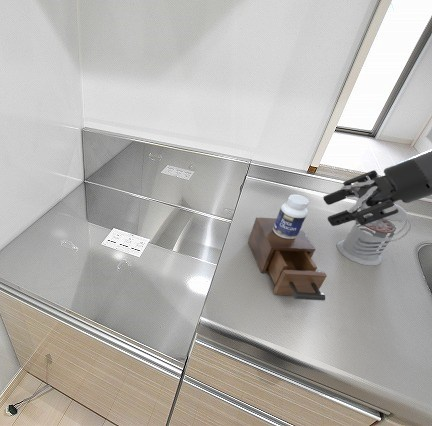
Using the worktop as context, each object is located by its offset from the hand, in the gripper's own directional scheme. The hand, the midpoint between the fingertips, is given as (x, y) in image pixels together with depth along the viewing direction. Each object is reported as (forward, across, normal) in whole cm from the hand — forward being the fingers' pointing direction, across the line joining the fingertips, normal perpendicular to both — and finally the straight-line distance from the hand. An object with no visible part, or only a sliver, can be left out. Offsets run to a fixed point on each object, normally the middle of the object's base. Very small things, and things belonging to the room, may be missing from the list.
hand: (327, 211), depth 64 cm
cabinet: (+16, 0, +7) cm, 18 cm away
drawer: (+13, +9, +9) cm, 19 cm away
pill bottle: (+10, 0, +2) cm, 10 cm away
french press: (+1, -12, +23) cm, 25 cm away
